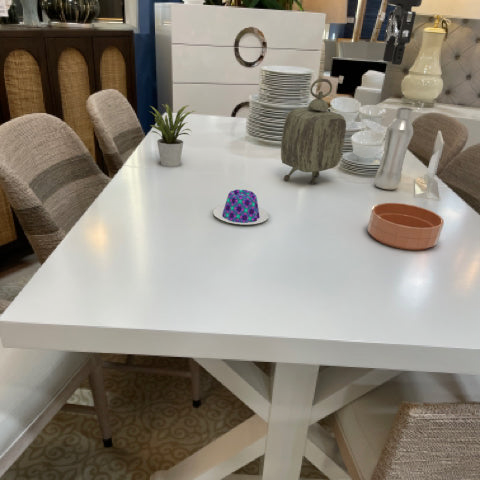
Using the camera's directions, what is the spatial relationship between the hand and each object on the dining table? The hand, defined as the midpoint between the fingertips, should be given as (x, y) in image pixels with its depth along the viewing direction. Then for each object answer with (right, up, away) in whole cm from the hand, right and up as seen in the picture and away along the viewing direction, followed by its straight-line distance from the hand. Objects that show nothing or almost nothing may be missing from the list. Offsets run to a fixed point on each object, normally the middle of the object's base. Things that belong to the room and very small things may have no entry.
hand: (391, 62), depth 114 cm
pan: (-3, -45, -15) cm, 47 cm away
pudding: (-36, -40, -11) cm, 55 cm away
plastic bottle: (+3, -27, +14) cm, 30 cm away
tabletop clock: (-18, -25, +14) cm, 34 cm away
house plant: (-55, -18, +19) cm, 61 cm away
